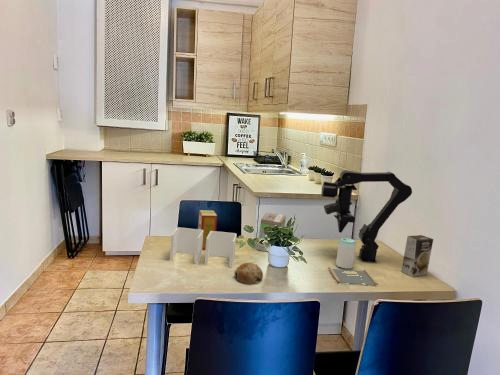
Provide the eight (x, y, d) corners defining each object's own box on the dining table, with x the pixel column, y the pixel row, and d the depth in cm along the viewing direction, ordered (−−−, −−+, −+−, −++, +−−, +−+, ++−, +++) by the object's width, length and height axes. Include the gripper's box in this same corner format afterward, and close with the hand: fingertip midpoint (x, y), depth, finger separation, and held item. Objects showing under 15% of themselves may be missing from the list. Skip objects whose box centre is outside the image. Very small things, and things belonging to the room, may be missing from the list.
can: (335, 268, 170) (339, 240, 168) (335, 262, 177) (339, 236, 175) (352, 271, 169) (356, 243, 167) (352, 265, 176) (356, 238, 173)
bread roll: (247, 295, 146) (257, 279, 142) (227, 276, 149) (236, 260, 146) (261, 286, 154) (270, 271, 151) (241, 268, 158) (251, 253, 155)
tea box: (278, 253, 182) (282, 222, 179) (256, 250, 183) (260, 218, 181) (282, 244, 196) (286, 214, 193) (262, 241, 198) (265, 211, 195)
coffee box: (412, 277, 168) (419, 240, 165) (400, 271, 173) (406, 235, 171) (427, 275, 172) (434, 239, 169) (415, 269, 178) (421, 234, 175)
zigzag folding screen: (234, 258, 171) (236, 233, 169) (231, 267, 160) (234, 241, 158) (176, 252, 172) (177, 227, 170) (169, 261, 161) (171, 234, 159)
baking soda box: (214, 250, 178) (217, 215, 176) (199, 250, 177) (202, 214, 174) (210, 243, 187) (213, 209, 184) (196, 243, 186) (199, 209, 183)
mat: (365, 272, 169) (366, 269, 169) (377, 286, 155) (378, 283, 155) (328, 269, 168) (328, 266, 168) (336, 283, 154) (337, 280, 154)
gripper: (322, 193, 189) (318, 225, 192) (331, 201, 171) (327, 237, 174) (345, 195, 190) (341, 227, 192) (357, 203, 171) (352, 239, 174)
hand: (340, 232), depth 183 cm, fingers closed
